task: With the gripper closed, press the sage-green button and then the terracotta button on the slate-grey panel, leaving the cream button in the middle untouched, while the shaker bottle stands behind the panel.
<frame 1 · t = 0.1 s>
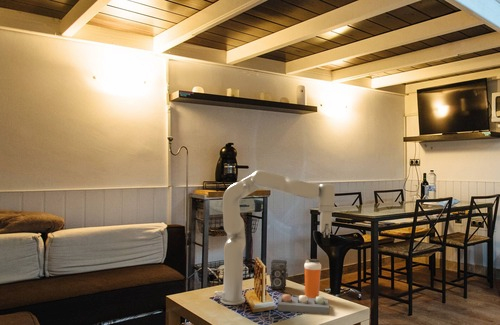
hand: (325, 243, 200), 31 cm above the table, tool pointing down, fingers open, 9 cm apart
button cream: (303, 299, 198), point 4 cm above the table, slide at 0.0 cm
camera: (278, 288, 227), on the table
button sage: (319, 300, 197), point 4 cm above the table, slide at 0.0 cm
panel: (302, 307, 198), on the table
shaker bottle: (311, 298, 214), on the table
button rust: (286, 298, 199), point 4 cm above the table, slide at 0.0 cm
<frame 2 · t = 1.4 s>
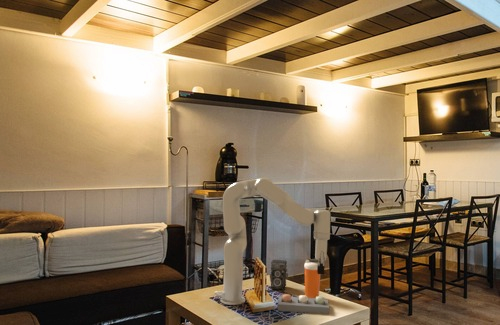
hand: (320, 273, 197), 17 cm above the table, tool pointing down, fingers closed
nothing on the table moved.
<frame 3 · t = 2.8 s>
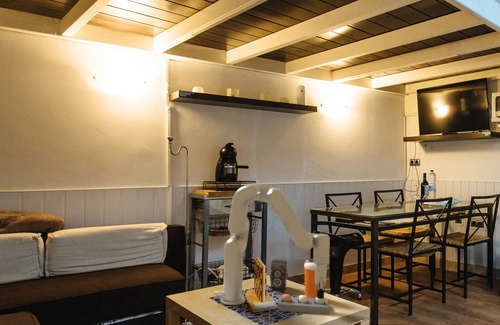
hand: (320, 297, 197), 5 cm above the table, tool pointing down, fingers closed
button sage: (319, 301, 197), point 4 cm above the table, slide at 0.2 cm, touching gripper
everything else where it was.
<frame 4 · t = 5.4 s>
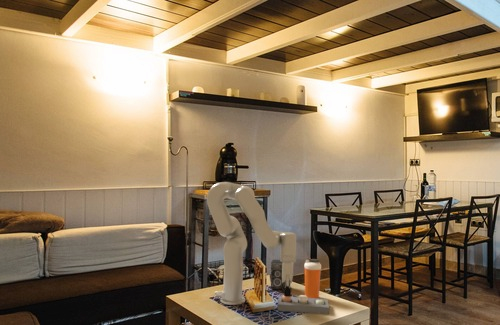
hand: (287, 295, 199), 5 cm above the table, tool pointing down, fingers closed
button sage: (319, 304, 197), point 2 cm above the table, slide at 1.7 cm
button rust: (286, 299, 199), point 4 cm above the table, slide at 0.2 cm, touching gripper
everything else where it was.
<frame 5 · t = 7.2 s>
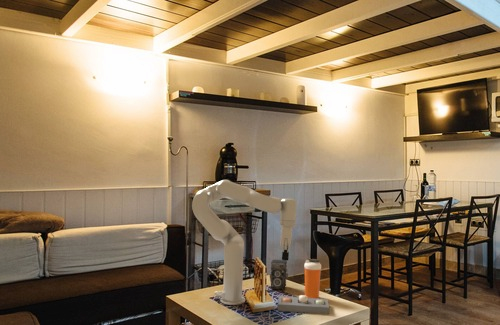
hand: (285, 259, 204), 22 cm above the table, tool pointing down, fingers closed
button rust: (286, 302, 199), point 2 cm above the table, slide at 1.7 cm
everything else where it was.
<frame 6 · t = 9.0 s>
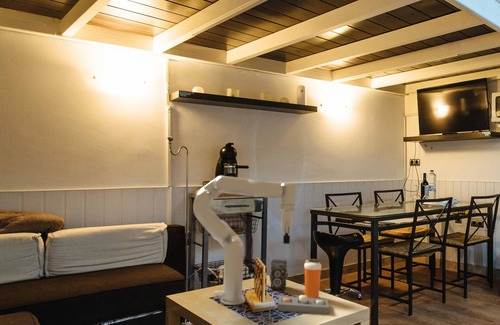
hand: (286, 243, 208), 29 cm above the table, tool pointing down, fingers closed
nothing on the table moved.
at the end: button sage slide at 1.7 cm; button rust slide at 1.7 cm; button cream slide at 0.0 cm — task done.
